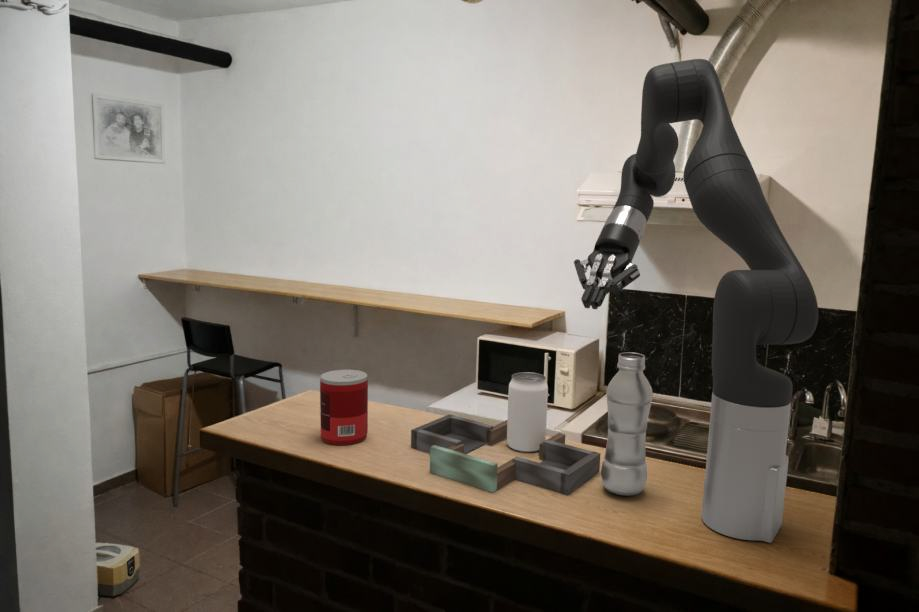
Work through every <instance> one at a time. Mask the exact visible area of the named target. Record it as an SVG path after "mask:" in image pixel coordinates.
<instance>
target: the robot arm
mask: <svg viewBox="0 0 919 612" xmlns="http://www.w3.org/2000/svg"><path fill="white" fill-rule="evenodd" d="M724 94H725V93H724V91H723V89H722V84H721V81H720V78H719V76H718V73H717V71H716V68H715V67H714V65H713V63H711V61H709V60H707V59H705V58H693V59H688V60H680V61H673V62H669V63H668V62H666V63H663V64H658V65H656V66H652V67H651V68H650V69H649V70H648V71H647V73H646V74H645V77H644V80H643V85H642V94H641V96H642V97H641V114H640V138H639V142H638V146H637V149H636V152H635V153H633V154H632V155H630V156H629V157H627V158H626V159H625V160H624V163H623V165H622V170H621V179H620V191H619V194H618V197H617V199H616V202H615V205H614V206H613V209H612V210H611V212H610V214H609V215H608V217H607V219H606V220H605V222H604V225H603V226H602V229H601V231H600V233H599V235H598V237H597V240H596V241H595V244H594V247H593V250H592V252H591V253H590V254H589V255H588V256H587V258H586V259H584V260H582V261H581V260H580V259H577V258H576V259H575V260H574V261H573V264H574V267H575V271H576V274H577V277H578V280H579V281H578V282H579V283H580V285H581V287H582V289H583V290H584V291H583V293H582V296H581V299H580V300H581V302H582V305H583V306H584V308H585V309H590V308H591V309H592V310H598V308H600V307H601V306H602V305H603V302H604V300H605V299H606V296H607V295H608V294H609V293H614V294H617V293H619V292H621V290H623V289H625V288H626V287H627V286H628V285H629V284H631V283H632V282H634V281H636V280H637V279H638V278H640V276H641V273H640V270H639V267H638V265H637V264H633V259H634V257H635V254H636V252H637V250H638V247H639V246H640V243H641V241H642V239H643V237H644V236H643V235H644V233H645V229H646V226H647V223H648V221H649V218H650V216H651V214H652V212H653V209H654V206H655V205H654V204H655V203H654V199H653V197H656V198H660V197H663V196H666V195H667V194H668V193H669V192H670V191H671V190H672V188H673V186H674V184H675V180H676V166H675V161H674V159H675V157H676V155H677V151H678V148H679V136H678V134H677V132H676V130H675V128H674V127H673V126H672V125H671V124H674V123H680V122H686V121H695V120H698V121H700V122H701V123H702V125H703V126H702V128H701V131H700V134H699V137H698V138H697V140H696V142H695V144H694V146H693V148H692V149H691V152H690V154H689V155H688V158H687V160H686V163H685V166H684V169H683V176H682V177H683V183H684V187H685V190H686V193H687V197H688V199H689V201H690V204H691V208H692V211H693V212H694V215H695V216H696V217H697V219H698V220H699V222H700V223H701V224H702V225H703V226H704V227H705V228H706V229H707V230H708V231H709V232H710V233H712V234H713V235H714V236H715V237H717V239H719V240H720V241H722V242H723V243H724V244H725V245H726V246H728V247H729V248H730V249H731V250H732V251H734V253H736V254H737V255H738V256H739V257H740V258H741V259H742V260H743V261H744V263H745V264H746V266H747V267H748V268H749V269H735V270H729V271H728V272H726V273H724V274H723V276H721V278H720V280H719V281H718V283H717V286H716V290H715V292H714V293H715V294H714V299H713V307H712V308H713V310H712V347H711V371H712V372H711V374H712V393H711V405H710V416H709V427H708V438H707V439H708V440H707V447H706V448H707V449H706V462H705V472H704V473H705V474H704V484H703V485H704V486H703V497H702V503H701V505H702V509H701V520H702V521H703V522H702V523H704V524H705V525H706V526H707V527H708V528H710V529H711V530H713V531H714V532H716V533H719V534H720V535H724V536H727V537H730V538H733V539H734V538H735V539H739V540H744V541H746V540H747V541H760V542H761V541H762V542H765V543H769V544H771V543H773V541H774V539H775V538H776V536H777V534H778V532H779V531H780V529H781V528H782V526H783V525H782V524H783V515H784V514H783V513H784V507H785V499H786V497H785V496H786V490H787V489H786V488H787V480H788V468H789V456H788V455H786V454H787V445H788V436H789V434H788V433H789V427H790V426H789V425H790V418H791V406H792V399H793V390H794V389H793V381H792V380H791V378H790V377H788V376H787V375H786V374H784V373H782V372H779V371H777V370H774V369H772V368H769V367H766V366H763V365H762V364H760V363H759V362H758V360H757V345H758V346H759V345H763V346H764V345H768V346H769V345H774V346H775V345H780V346H781V345H782V346H783V345H793V344H800V343H803V342H805V341H807V340H809V339H811V337H812V336H813V335H814V333H815V331H816V328H817V326H818V321H819V306H818V305H819V304H818V300H817V296H816V293H815V290H814V287H813V285H812V282H811V280H810V278H809V276H808V275H807V273H806V271H805V269H804V268H803V266H802V264H801V262H800V261H799V259H798V258H797V256H796V254H795V253H794V250H792V247H791V246H790V245H789V243H788V241H787V239H786V237H785V236H784V233H783V232H782V230H781V228H780V226H779V224H778V222H777V220H776V219H775V217H774V214H773V212H772V210H771V208H770V206H769V203H768V202H767V200H766V197H765V194H764V192H763V189H762V186H761V184H760V181H759V178H758V176H757V174H756V172H755V170H754V168H753V167H754V166H753V165H752V162H751V161H750V159H749V157H748V155H747V152H746V149H745V148H744V147H743V144H742V143H741V140H740V138H739V134H738V132H737V130H736V127H735V126H734V123H733V120H732V118H731V115H730V111H729V108H728V105H727V102H726V101H727V100H726V98H725V95H724ZM588 267H590V272H589V277H588V278H587V276H586V273H587V271H588Z"/></svg>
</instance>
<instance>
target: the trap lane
mask: <svg viewBox="0 0 919 612" xmlns="http://www.w3.org/2000/svg"><path fill="white" fill-rule="evenodd" d="M504 440H507V419H506V420H504V421H501V422H500V423H498V424H496V425H492V424H488V423H484V422H480V421H476V420H473V419H470V418H464V417H461V416H457V415H454V414H450V413H449V414H447V415H444V416H442V417H439V418H437V419H434V420H432V421H430V422H427V423H424V424H422V425H420V426H417V427H415V428H413V429H412V428H411V431H410V448H412V449H415V450H420V451H423V452H425V453H427V454H429V473H431V474H434V475H436V476H437V475H438V476H441V477H443V478H446V479H450V480H453V481H456V482H460V483H462V484H466V485H469V486H472V487H475V488H477V489H481V490H483V491H486V492H490V493H494V492H496V491H499V489H502V488H503V487H504V486H506V485H508V484H509V483H511V482H512V481H514V480H517V481H520V482H525V483H527V484H530V485H534V486H537V487H540V488H544V489H547V490H550V491H554V492H557V493H559V494H564V495H567V496H568V495H570V494H572V492H574V491H576V490H577V489H578V488H579V487H581V486H582V485H584V484H585V483H587V482H588V481H589V480H590V478H591V479H592V478H594V477H595V476H596V475H597V474H599V473H600V472H601V469H600V468H601V454H602V453H600V452H597V451H594V450H590V449H589V450H588V449H585V448H582V447H577V446H574V445H569V444H566V434H565V433H561V432H558V433H556V434H554V435H552V436H551V437H550V438H547V439H546V440H545V441H543V442H542V443H540V447H539V451H538V452H539V453H538V459H539V460H542V461H541V462H537V461H535V460H530V459H527V458H523V457H520V456H517V455H516V456H515V457H513V458H512V459H509V460H508V461H506V462H505V463H503V464H501V465H498V463H497V462H494V461H490V460H488V459H487V460H486V459H484V458H483V459H482V458H480V457H476V456H473V455H470V454H468V453H471V452H473V451H475V450H477V449H479V448H481V447H483V446H484V445H489V446H494V445H496V444H498V443H500V442H501V441H504ZM598 472H599V473H598ZM595 474H596V475H595ZM594 475H595V476H594Z"/></svg>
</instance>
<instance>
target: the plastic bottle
mask: <svg viewBox="0 0 919 612" xmlns="http://www.w3.org/2000/svg"><path fill="white" fill-rule="evenodd" d="M616 365H617V367H616V368H617V369H618V372H616V374H615V375H614V376H612V379H611V380H610V382H608V385H607V387H606V403H607V404H606V405H607V407H606V408H607V438H606V439H607V440H606V447H605V454H604V457H603V460H602V464H601V465H602V466H601V469H600V475H601V483H602V484H603V486H604V488H605V490H607V491H608V492H609V493H613V494H615V495H619V496H635V495H636V496H637V495H639V494H640V493H641V492H642V491H643V490H644V489H645V487H646V484H647V481H648V466H647V465H648V464H647V461H646V437H647V436H646V435H647V432H646V431H647V428H648V420H649V417H650V416H649V415H650V410H651V405H652V401H653V395H654V393H653V388H652V386H651V384H650V381H649V380H648V378H647V377H646V376H645V373H644V370H645V371H646V356H645V355H644V354H642V353H639V352H630V351H629V352H621V353H619V354H618V362H617V364H616Z"/></svg>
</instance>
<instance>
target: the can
mask: <svg viewBox="0 0 919 612" xmlns="http://www.w3.org/2000/svg"><path fill="white" fill-rule="evenodd" d="M546 379H547V378H546V376H545V375H544V374H541V373H537V372H531V371H530V372H529V371H528V372H527V371H526V372H525V371H524V372H516V373H513V374H512V375H511V380H510V382H509V383H508V392H507V393H508V395H507V419H506V420H507V438H506V445H507V446H508V447H509V448H510V449H511V450H513V451H516V452H519V453H536V452H537V453H538V452H539V447H540V443H542V442H543V441H545V440H547V439H546V438H547V419H548V418H547V417H548V399H549V398H548V396H549V394H548V393H549V385H548V383H547V381H546Z"/></svg>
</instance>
